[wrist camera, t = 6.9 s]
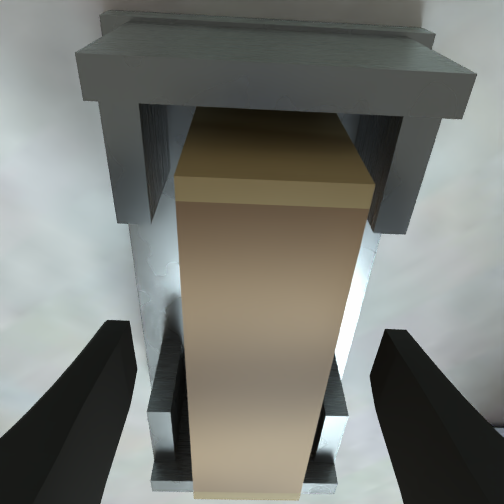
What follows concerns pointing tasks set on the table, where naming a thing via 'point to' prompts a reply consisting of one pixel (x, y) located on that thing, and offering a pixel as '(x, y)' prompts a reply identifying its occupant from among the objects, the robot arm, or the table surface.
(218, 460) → the brown wooden block
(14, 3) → the table surface
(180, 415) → the brackets
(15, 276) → the table surface
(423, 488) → the robot arm
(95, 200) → the table surface
